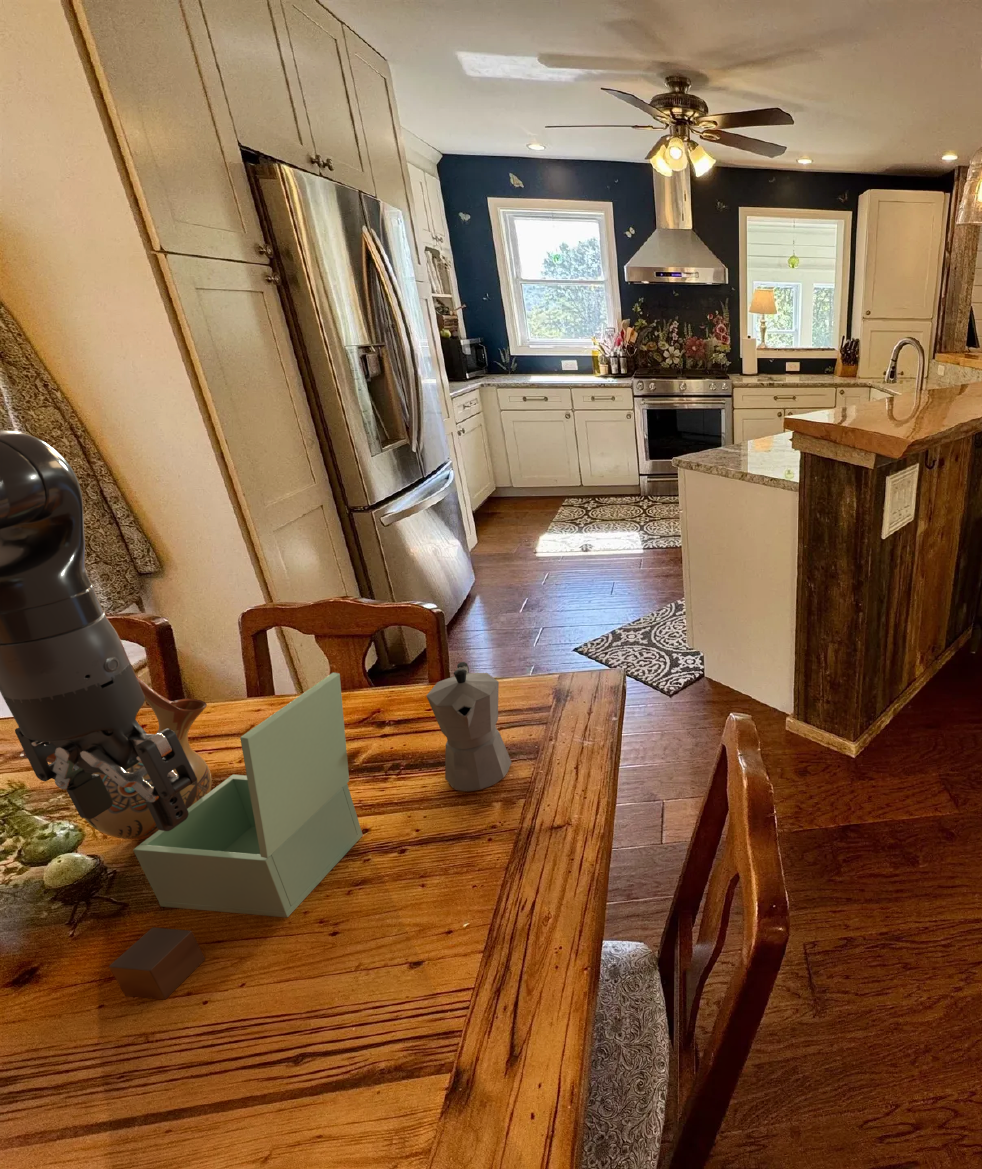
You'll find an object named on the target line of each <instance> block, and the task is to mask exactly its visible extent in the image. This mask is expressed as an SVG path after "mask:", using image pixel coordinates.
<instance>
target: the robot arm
mask: <svg viewBox="0 0 982 1169" xmlns="http://www.w3.org/2000/svg"><path fill="white" fill-rule="evenodd" d="M85 538H86V536H85V516H84V500H83V492H82V489H81V485H80V482H79V479H78V477H77V475H76V473H75V471H74V470H73V468H72V466H71V465H70V464H69V462H68V461H67V460H66V459H65V457H64V456H63V455H62V454H60V452H58V451H57V450H56V449H55V448H54V447H53V446H51V445H50V444H48V443H47V442H46V441H44V440H42V439H40V438H38V437H36V436H34V435H31V434H28V433H25V432H22V431H21V432H20V431H16V430H0V694H1V696H2V699H3V700H4V702H5V704H6V706H7V708H8V709H9V711H10V713H11V715H12V717H13V718H14V721H15V722H16V725H17V726H18V727H17V728H15V729H14V733H15V735H16V737H17V739H18V741H19V743H20V746H21V747H22V751H23V750H24V752H25V754H26V756H27V758H26V759H27V760H28V762H29V764H30V766H31V768H32V771H33V772H34V775H35V777H37V779H38V780H39V781H42V782H48V781H49V780H54V784H55V786H57V787H58V788H59V789H61V790H65V791H66V793H67V794H68V796H69V798H70V799H71V802H72V804H73V805H74V808H75V809H76V811H77V813H78V816H79V817H80V818H81V819H84V818H86V819H92V818H95V817H96V816H98V815H99V814H101V813H103V812H104V811H106V810H107V809H109V808H110V807H111V806H112V804H113V801H112V799H111V797H110V795H109V793H108V791H107V789H106V787H105V785H104V783H103V781H102V779H101V777H100V775H97V774H93V773H102V774H105V775H107V776H109V777H110V778H111V779H112V780H113V781H114V782H116V783H117V784H118V785H119V786H120V787H123V788H126V787H132V788H133V789H134V790H135V791H137V792H138V793H139V794H140V795H141V796H142V797H143V798H145V799H146V800H147V801H145V802H146V804H147V806H148V808H149V811H150V813H151V815H152V817H153V819H154V821H155V823H156V826H157V828H158V829H159V830H162V831H170V830H172V829H173V828H175V827H176V826H178V825H179V824H180V823H182V822H183V821H185V820H186V819H187V817H188V815H189V813H188V810H187V808H186V805H185V804H184V801H183V798H182V796H181V794H180V791H181V790H183V789H184V788H186V787H187V786H189V785H191V784H192V783H194V782H195V781H197V777H196V775H195V773H194V771H193V769H192V767H191V765H190V763H189V761H188V758H187V756H186V754H185V752H184V750H183V748H182V746H181V744H180V742H179V740H178V738H177V736H176V734H175V732H174V731H172V730H171V729H165V730H163V731H161V732H159V733H157V732H156V733H157V734H156V733H147V732H146V730H145V729H144V728H143V727H142V726H141V725H140V724H139V722H138V720H137V715H138V713H139V711H140V710H141V708H142V707H143V706H144V704H145V702H146V700H145V696H144V694H143V691H142V689H141V687H140V684H139V682H138V680H137V677H138V676H137V675H136V673H135V671H134V668H133V666H132V663H131V661H130V658H129V656H128V654H127V652H126V649H125V647H124V645H123V643H122V640H121V637H120V636H119V634H118V632H117V630H116V629H115V628H114V626H113V625H112V623H111V622H110V620H109V619H108V617H107V615H106V613H105V612H104V609H103V606H102V604H101V602H100V600H99V597H98V595H97V593H96V590H95V588H94V586H93V584H92V581H91V579H90V577H89V575H88V574H87V570H86V539H85ZM136 676H137V677H136ZM53 753H54V755H55V756H56V760H55V762H53V763H49V762H47V760H46V759H47V757H48V756H49V755H51V754H53ZM139 761H142V763H143V765H144V766H143V767H142V768H140V769H138V770H136V771H135V772H131V773H130V772H126V770H127V769H129V768H131V767H132V766H134V765H136V764H137V763H138V762H139ZM174 769H176V771H177V773H178V775H177V774H176V773H175V772H173V771H172V770H174ZM92 774H93V775H92ZM146 775H149V777H150V779H151V781H152V783H153V785H154V786H153V787H152V786H151V785H150V784H149V783H147V782H146V781H145V780H144V779H143V777H145V776H146Z"/></svg>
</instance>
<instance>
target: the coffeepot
mask: <svg viewBox="0 0 982 1169" xmlns="http://www.w3.org/2000/svg"><path fill="white" fill-rule="evenodd" d="M499 684H500V682H499V680H497V679H496V678H494V677H493V676H492V675H490V674H489V673H488V672H470V670H469V664H468V663H467V662H465V661H460V662H458V663H457V665H456V670H455V671H453V676H451V677H448V678H445V679H442V680H440V681H437V682H436V683H435V684H434V686H433V687H432V688H431V689H430V690H429V692H428V693H427V694H426V699H427V701H428V704H429V706H430V708H431V710H432V712H433V715H434V717H435V720H436V722H437V724H438V727H439V730H440V731H441V733H442V734H443V735H444V736H445V737H446V743H445V752H444V753H445V758H444V759H445V762H444V763H445V764H444V765H445V766H444V767H445V770H444V779H445V780H446V781H447V783H448V784H449V786H450V787H451V788H453V789H454V790H455V791H461V792H475V791H480V790H484V789H487V788H489V787H491V786H494V785H496V784H498V782H500V781H502V780H503V779H504V778H505V777H506V775H508V773H509V770H510V768H511V765H512V763H513V762H512V759H511V757H510V755H509V753H508V750H507V748H506V745H505V743H504V740H503V737H502V735H501V733H500V731H499V730H498V729H497V723H498V721H499V688H500V687H499V686H500V685H499Z"/></svg>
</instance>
